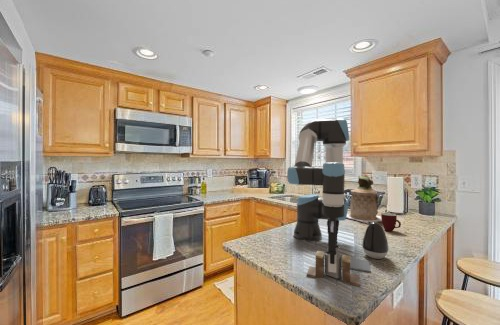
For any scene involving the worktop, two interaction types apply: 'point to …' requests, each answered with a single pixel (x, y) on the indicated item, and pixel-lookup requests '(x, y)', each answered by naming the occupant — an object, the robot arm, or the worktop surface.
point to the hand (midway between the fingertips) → (332, 268)
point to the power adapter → (338, 265)
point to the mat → (359, 265)
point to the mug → (389, 221)
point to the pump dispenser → (375, 241)
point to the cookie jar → (364, 202)
